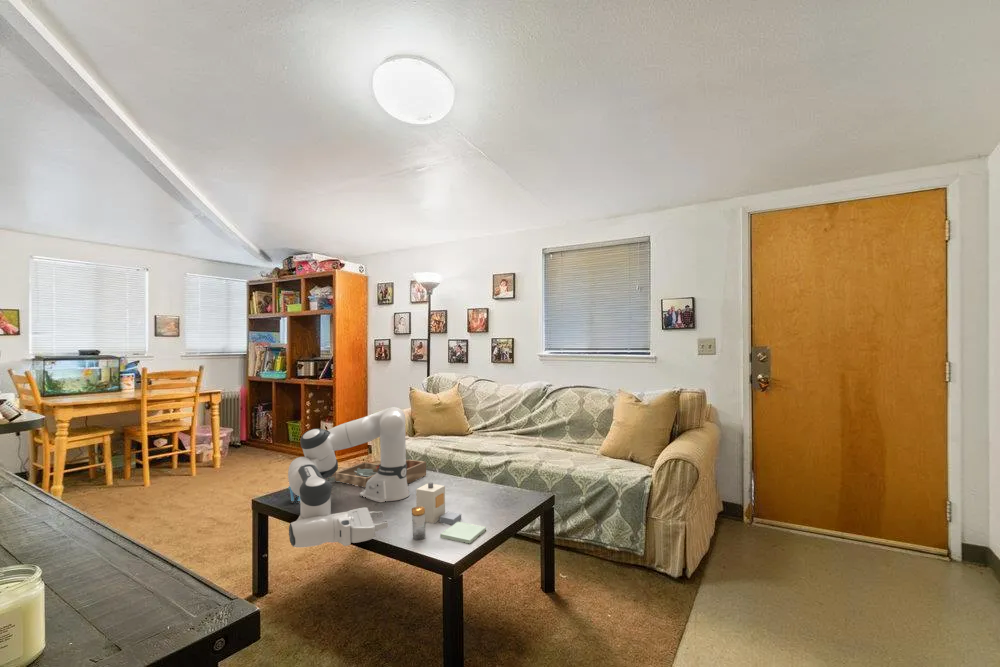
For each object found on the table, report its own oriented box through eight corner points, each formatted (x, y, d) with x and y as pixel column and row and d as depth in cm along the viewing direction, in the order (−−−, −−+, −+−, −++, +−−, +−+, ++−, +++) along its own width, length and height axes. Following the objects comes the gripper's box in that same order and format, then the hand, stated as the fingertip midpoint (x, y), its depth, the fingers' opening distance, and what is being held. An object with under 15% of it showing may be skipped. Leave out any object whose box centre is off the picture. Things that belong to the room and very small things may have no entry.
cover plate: (439, 523, 173) (439, 516, 173) (448, 517, 179) (448, 511, 179) (453, 526, 171) (453, 519, 171) (461, 520, 176) (461, 513, 176)
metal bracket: (363, 472, 221) (351, 466, 232) (360, 484, 220) (348, 477, 231) (389, 475, 230) (376, 468, 241) (386, 486, 228) (374, 479, 240)
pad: (440, 537, 160) (440, 534, 160) (457, 524, 171) (457, 521, 171) (469, 543, 155) (469, 540, 155) (486, 530, 166) (485, 527, 166)
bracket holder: (385, 482, 222) (384, 468, 222) (408, 472, 238) (408, 459, 238) (403, 486, 217) (403, 471, 217) (426, 475, 233) (426, 461, 233)
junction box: (416, 520, 176) (416, 484, 176) (428, 512, 183) (428, 479, 183) (434, 523, 172) (434, 487, 172) (445, 516, 179) (445, 481, 179)
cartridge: (409, 538, 159) (409, 510, 159) (417, 533, 164) (416, 505, 164) (420, 540, 157) (419, 512, 158) (428, 535, 162) (427, 507, 162)
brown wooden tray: (334, 482, 224) (334, 472, 224) (364, 470, 243) (364, 462, 243) (367, 488, 214) (367, 478, 214) (396, 475, 233) (396, 466, 234)
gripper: (340, 524, 159) (380, 517, 165) (345, 548, 141) (390, 540, 146) (340, 506, 160) (380, 500, 165) (345, 528, 141) (390, 520, 146)
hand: (385, 519), depth 155 cm, fingers open, 8 cm apart
